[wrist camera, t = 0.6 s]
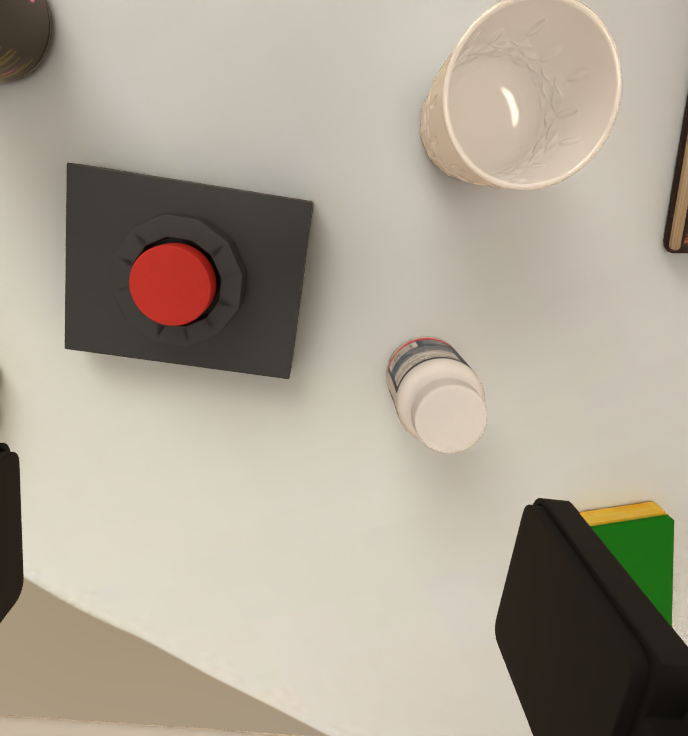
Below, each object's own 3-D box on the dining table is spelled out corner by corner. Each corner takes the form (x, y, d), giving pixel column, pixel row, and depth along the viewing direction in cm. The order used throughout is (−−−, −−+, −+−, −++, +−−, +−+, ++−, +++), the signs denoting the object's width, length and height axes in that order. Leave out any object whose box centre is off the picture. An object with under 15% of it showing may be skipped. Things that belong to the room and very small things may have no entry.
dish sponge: (656, 499, 42) (675, 517, 40) (654, 646, 46) (671, 670, 44) (561, 513, 42) (575, 532, 40) (568, 659, 46) (581, 683, 44)
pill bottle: (461, 405, 40) (498, 463, 31) (386, 410, 39) (404, 469, 31) (461, 332, 38) (501, 371, 29) (384, 337, 38) (401, 378, 29)
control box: (84, 164, 34) (49, 160, 30) (313, 201, 35) (312, 202, 31) (80, 339, 37) (48, 358, 33) (291, 368, 38) (287, 390, 34)
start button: (141, 236, 31) (130, 239, 30) (220, 248, 32) (214, 251, 30) (137, 313, 33) (127, 319, 31) (213, 324, 33) (207, 331, 31)
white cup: (419, 202, 35) (455, 204, 26) (400, 64, 33) (431, 11, 24) (544, 177, 35) (626, 171, 26) (533, 37, 33) (618, -27, 23)
